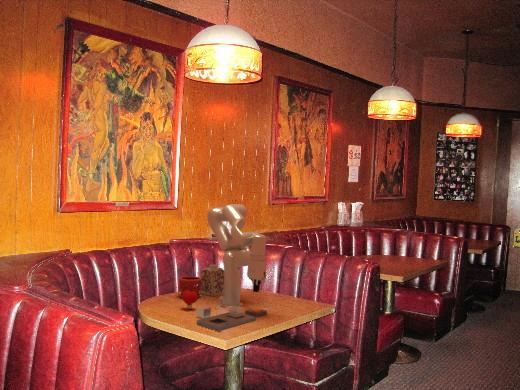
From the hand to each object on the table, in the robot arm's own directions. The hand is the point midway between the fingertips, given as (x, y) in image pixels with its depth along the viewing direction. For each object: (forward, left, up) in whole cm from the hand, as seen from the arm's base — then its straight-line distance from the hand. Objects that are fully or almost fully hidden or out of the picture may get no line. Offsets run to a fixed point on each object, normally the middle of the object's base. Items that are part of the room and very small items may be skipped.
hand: (256, 291), depth 272 cm
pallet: (0, -21, -13) cm, 25 cm away
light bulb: (-33, -17, -13) cm, 40 cm away
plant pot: (-53, +1, -13) cm, 55 cm away
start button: (+1, 0, -12) cm, 12 cm away
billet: (-14, -24, -13) cm, 31 cm away
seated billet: (0, -15, -12) cm, 19 cm away
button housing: (+1, 0, -13) cm, 13 cm away
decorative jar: (-51, +18, -13) cm, 56 cm away
